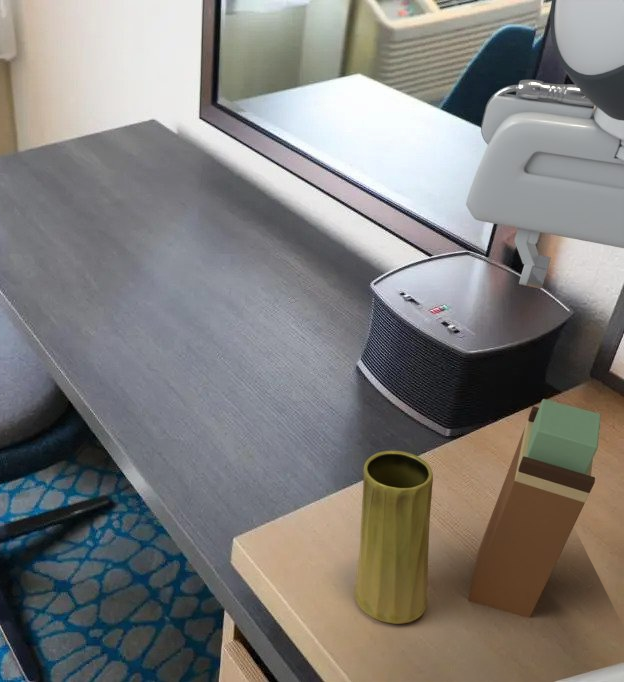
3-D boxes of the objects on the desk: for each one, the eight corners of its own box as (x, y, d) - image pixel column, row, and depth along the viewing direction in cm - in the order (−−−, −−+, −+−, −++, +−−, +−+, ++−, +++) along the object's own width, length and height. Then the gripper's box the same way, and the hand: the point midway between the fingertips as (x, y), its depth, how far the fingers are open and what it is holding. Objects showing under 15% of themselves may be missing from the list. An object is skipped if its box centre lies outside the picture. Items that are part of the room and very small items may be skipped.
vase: (433, 627, 66) (445, 494, 59) (357, 623, 67) (361, 493, 61) (420, 574, 71) (431, 446, 65) (350, 571, 73) (354, 446, 66)
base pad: (525, 627, 67) (595, 482, 56) (465, 605, 69) (522, 460, 58) (534, 569, 72) (600, 423, 61) (478, 549, 74) (532, 405, 63)
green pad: (583, 478, 58) (598, 447, 56) (525, 460, 59) (536, 430, 58) (587, 444, 61) (601, 413, 59) (531, 428, 62) (542, 398, 60)
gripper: (485, 92, 47) (437, 285, 55) (932, 148, 38) (794, 367, 47) (501, 60, 51) (454, 244, 59) (906, 104, 42) (784, 312, 51)
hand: (606, 299), depth 53 cm, fingers open, 8 cm apart
